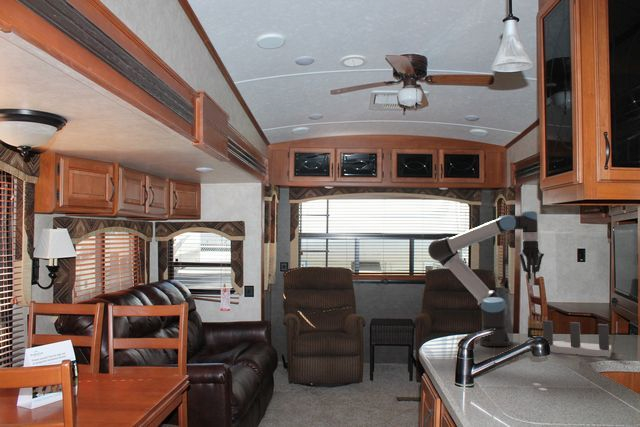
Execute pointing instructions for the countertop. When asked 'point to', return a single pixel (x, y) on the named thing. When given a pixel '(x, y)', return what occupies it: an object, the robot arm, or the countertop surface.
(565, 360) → the countertop surface
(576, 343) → the dark grey upright block
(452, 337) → the countertop surface
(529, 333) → the ammunition clip
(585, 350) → the three peg stand
